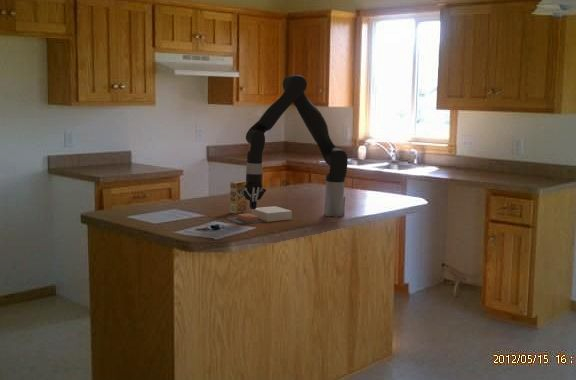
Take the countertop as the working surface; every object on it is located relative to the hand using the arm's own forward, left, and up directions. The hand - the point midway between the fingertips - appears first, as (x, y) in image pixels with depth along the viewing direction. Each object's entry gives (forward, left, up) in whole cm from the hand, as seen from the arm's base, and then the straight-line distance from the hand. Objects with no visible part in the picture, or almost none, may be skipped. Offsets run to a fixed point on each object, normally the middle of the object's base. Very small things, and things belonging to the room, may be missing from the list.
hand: (253, 209), depth 321 cm
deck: (-11, 0, -5) cm, 12 cm away
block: (+3, 0, -3) cm, 4 cm away
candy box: (-4, -19, -5) cm, 20 cm away
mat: (+4, 0, -5) cm, 6 cm away
